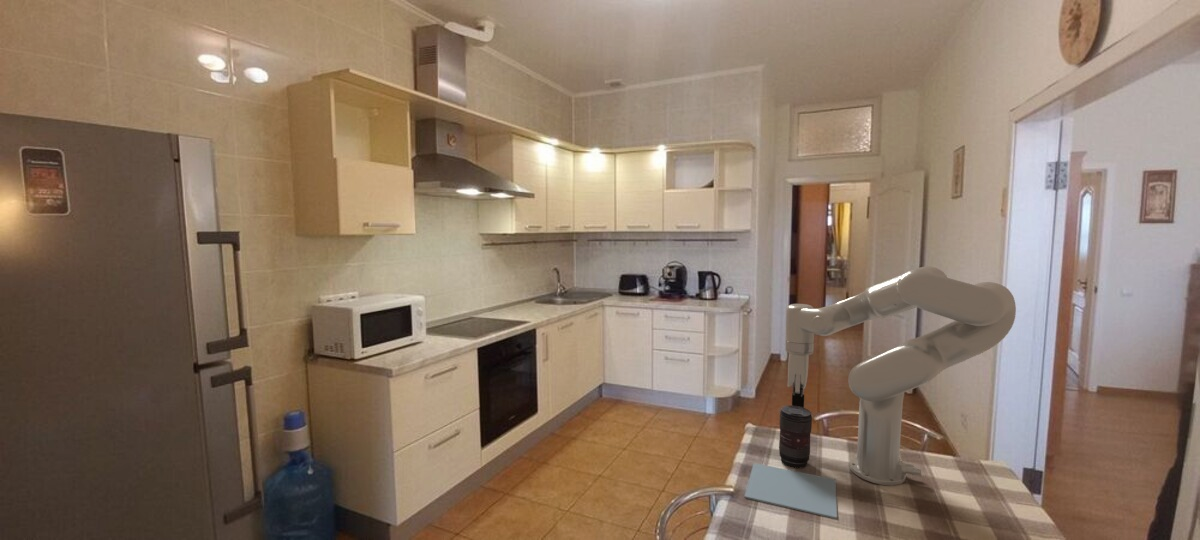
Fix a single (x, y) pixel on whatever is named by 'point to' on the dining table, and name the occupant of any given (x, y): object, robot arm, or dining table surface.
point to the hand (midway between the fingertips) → (797, 407)
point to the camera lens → (795, 436)
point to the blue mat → (793, 490)
